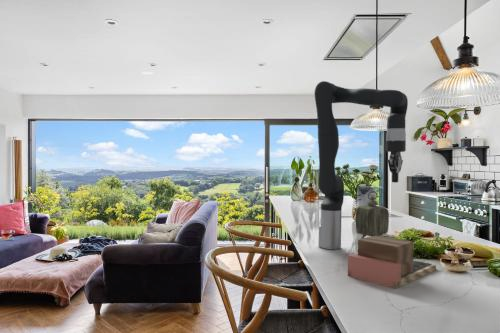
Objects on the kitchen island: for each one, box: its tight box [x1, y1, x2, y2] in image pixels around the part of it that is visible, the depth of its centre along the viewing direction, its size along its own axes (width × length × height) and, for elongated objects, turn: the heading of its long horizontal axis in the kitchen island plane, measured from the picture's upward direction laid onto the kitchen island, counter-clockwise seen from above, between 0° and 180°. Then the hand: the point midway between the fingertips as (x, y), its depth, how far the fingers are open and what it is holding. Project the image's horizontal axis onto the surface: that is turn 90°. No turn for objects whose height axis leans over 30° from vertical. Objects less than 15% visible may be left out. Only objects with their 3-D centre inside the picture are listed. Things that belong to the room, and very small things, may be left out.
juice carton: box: [356, 183, 377, 209], centre depth 210 cm, size 9×10×27 cm
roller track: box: [347, 253, 437, 289], centre depth 133 cm, size 32×17×7 cm, turn 133°
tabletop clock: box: [355, 191, 390, 239], centre depth 183 cm, size 14×9×25 cm, turn 123°
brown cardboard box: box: [357, 235, 414, 276], centre depth 128 cm, size 12×14×10 cm
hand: (395, 182), depth 153 cm, fingers closed
